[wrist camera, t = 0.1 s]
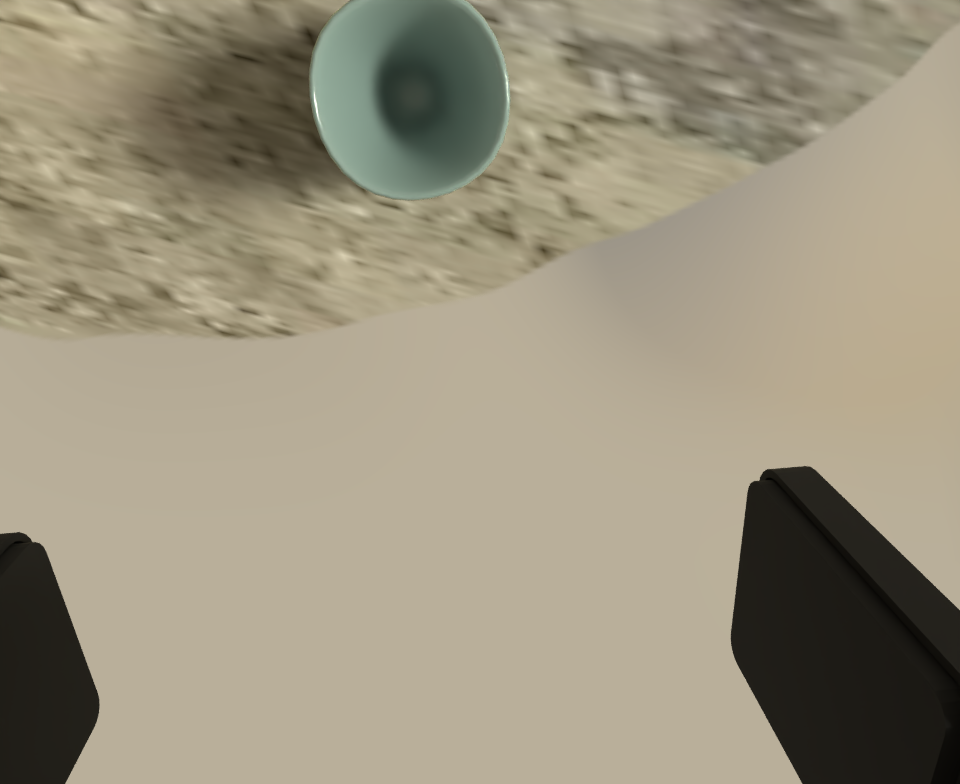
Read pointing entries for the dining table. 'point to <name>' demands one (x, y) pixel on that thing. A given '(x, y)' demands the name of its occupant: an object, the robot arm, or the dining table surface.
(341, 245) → the dining table surface
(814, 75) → the dining table surface
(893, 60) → the dining table surface
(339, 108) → the cup
